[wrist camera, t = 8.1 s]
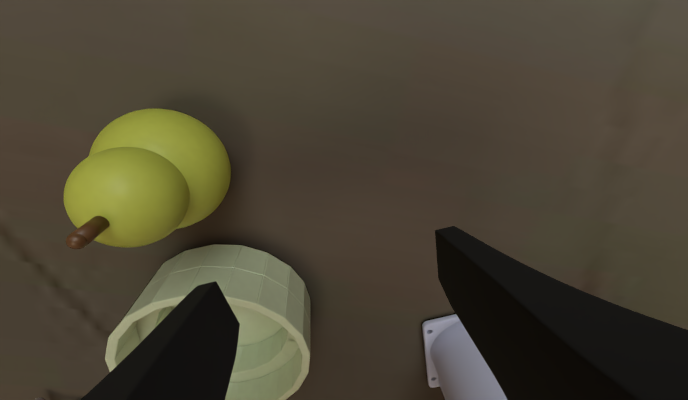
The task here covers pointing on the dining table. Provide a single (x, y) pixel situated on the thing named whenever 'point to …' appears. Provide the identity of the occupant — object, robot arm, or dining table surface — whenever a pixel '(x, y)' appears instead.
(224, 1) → the dining table surface
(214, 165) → the pear
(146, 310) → the bowl
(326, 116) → the dining table surface
